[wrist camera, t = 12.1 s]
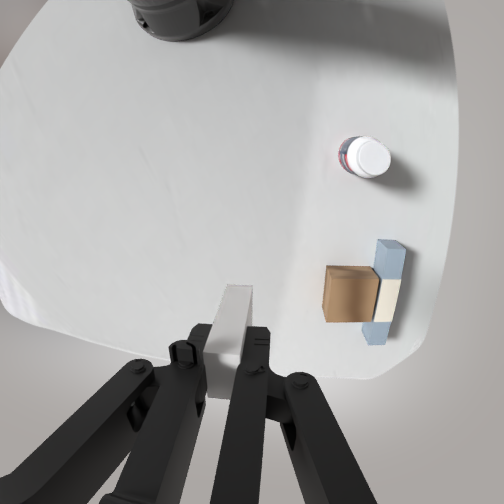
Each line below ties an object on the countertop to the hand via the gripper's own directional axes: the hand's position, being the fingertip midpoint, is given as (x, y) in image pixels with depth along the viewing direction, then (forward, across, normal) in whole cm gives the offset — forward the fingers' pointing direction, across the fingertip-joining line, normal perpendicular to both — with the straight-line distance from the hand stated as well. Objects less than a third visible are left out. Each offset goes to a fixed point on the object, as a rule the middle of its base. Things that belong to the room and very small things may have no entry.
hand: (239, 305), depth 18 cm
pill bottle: (+27, +13, +9) cm, 31 cm away
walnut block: (+27, +13, -11) cm, 32 cm away
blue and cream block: (+26, +19, -11) cm, 34 cm away
